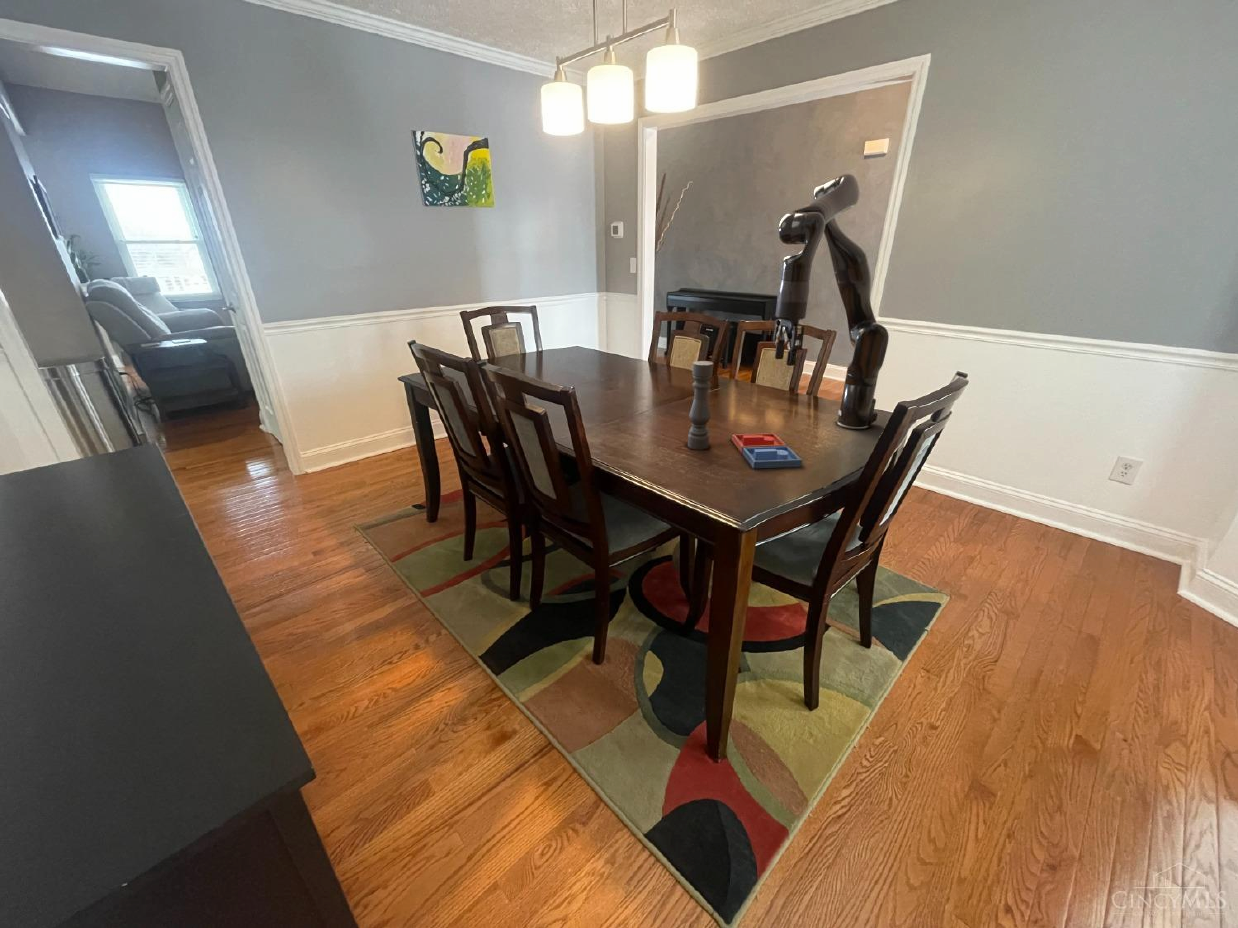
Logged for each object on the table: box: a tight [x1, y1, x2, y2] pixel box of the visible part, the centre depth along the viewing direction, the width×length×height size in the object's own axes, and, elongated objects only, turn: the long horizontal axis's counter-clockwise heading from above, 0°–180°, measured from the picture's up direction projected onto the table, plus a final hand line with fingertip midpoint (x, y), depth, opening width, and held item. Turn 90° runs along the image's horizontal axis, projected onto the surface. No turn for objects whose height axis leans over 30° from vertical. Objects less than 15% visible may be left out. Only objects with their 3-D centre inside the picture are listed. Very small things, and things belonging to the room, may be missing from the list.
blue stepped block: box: [753, 449, 788, 460], centre depth 137 cm, size 9×4×3 cm, turn 93°
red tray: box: [731, 432, 788, 454], centre depth 147 cm, size 13×10×2 cm
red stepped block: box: [742, 435, 774, 446], centre depth 147 cm, size 9×4×3 cm, turn 93°
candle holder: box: [687, 360, 714, 451], centre depth 143 cm, size 6×6×25 cm
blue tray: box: [741, 445, 803, 469], centre depth 137 cm, size 13×10×2 cm
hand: (784, 362), depth 133 cm, fingers open, 8 cm apart
